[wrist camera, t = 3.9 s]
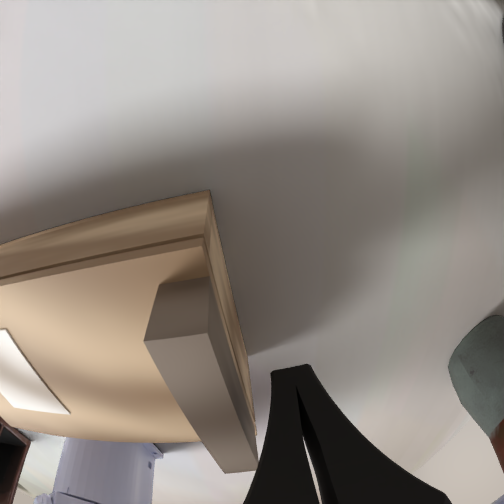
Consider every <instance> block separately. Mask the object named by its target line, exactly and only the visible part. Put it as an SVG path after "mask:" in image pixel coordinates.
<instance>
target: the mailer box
mask: <svg viewBox="0 0 504 504" xmlns="http://www.w3.org/2000/svg"><path fill="white" fill-rule="evenodd" d="M202 237H203V239H204V243H205V247H206V251H207V255H208V259H209V263H210V267H211V271H212V275H213V279H214V282H215V286H216V290H217V294H218V298H219V302H220V305H221V309H222V313H223V316H224V320H225V324H226V327H227V331H228V334H229V338H230V342H231V345H232V349H233V352H234V356H235V359H236V362H237V366H238V369H239V373H240V376H241V379H242V383H243V386H244V389H245V393H246V396H247V399H248V402H249V406H250V409H251V412H252V415H253V418H254V422H255V415H254V407H253V399H252V391H251V382H250V374H249V366H248V357H247V353H246V349H245V345H244V341H243V337H242V333H241V328H240V324H239V320H238V316H237V312H236V307H235V303H234V299H233V295H232V290H231V286H230V282H229V277H228V273H227V268H226V264H225V260H224V255H223V251H222V246H221V241H220V237H219V232H218V228H217V223H216V218H215V214H214V209H213V204H212V199H211V195H210V190H207V191H202V192H197V193H192V194H187V195H182V196H177V197H173V198H168V199H163V200H159V201H155V202H150V203H146V204H142V205H137V206H133V207H129V208H125V209H121V210H117V211H113V212H109V213H105V214H101V215H97V216H94V217H90V218H86V219H83V220H79V221H75V222H72V223H68V224H65V225H61V226H58V227H55V228H51V229H48V230H45V231H41V232H38V233H35V234H32V235H28V236H25V237H22V238H19V239H16V240H13V241H10V242H7V243H4V244H1V245H0V280H2V279H6V278H10V277H14V276H19V275H23V274H28V273H32V272H36V271H41V270H45V269H50V268H54V267H59V266H63V265H68V264H73V263H77V262H82V261H87V260H91V259H96V258H101V257H106V256H110V255H115V254H120V253H125V252H130V251H135V250H140V249H145V248H150V247H155V246H160V245H165V244H170V243H176V242H181V241H186V240H191V239H197V238H202Z"/></svg>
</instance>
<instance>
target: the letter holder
mask: <svg viewBox="0 0 504 504" xmlns="http://www.w3.org/2000/svg"><path fill="white" fill-rule="evenodd" d="M30 444H31V441H30V440H29V439H28V438H27V437H25V436H24V435H23V434H22V433H20V432H19V431H18V430H17V429H16V428H14V427H11V426H10V425H9V424H8V423H7V422H6V421H5V420H4V419H3V418H2V417H1V416H0V504H12V503H13V500H14V496H15V493H16V489H17V485H18V481H19V478H20V474H21V472H22V468H23V465H24V462H25V458H26V455H27V452H28V449H29V447H30Z"/></svg>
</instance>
